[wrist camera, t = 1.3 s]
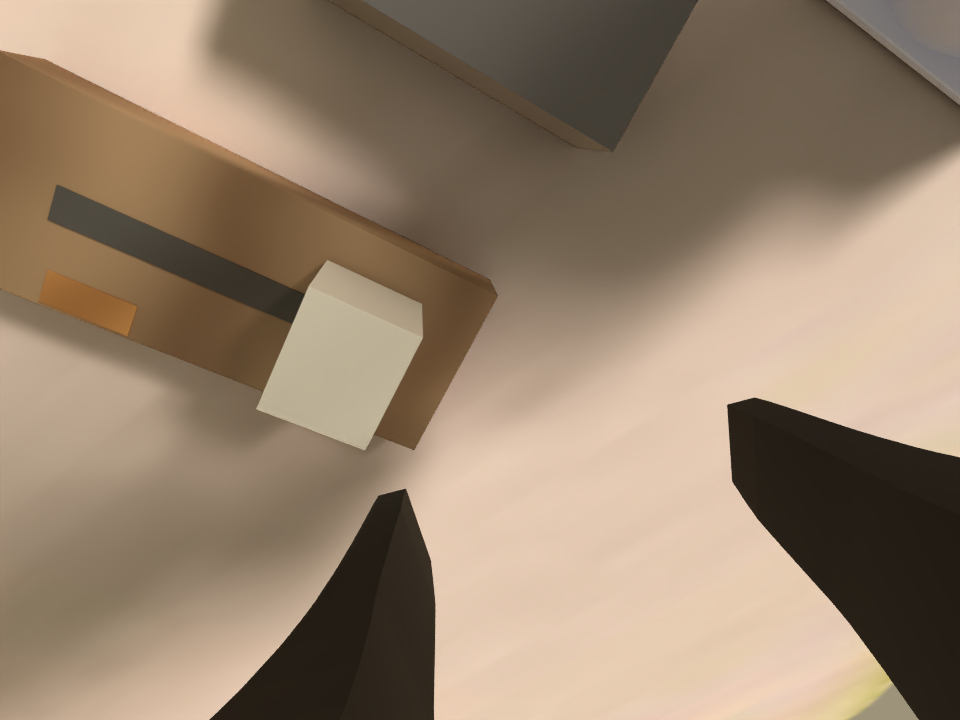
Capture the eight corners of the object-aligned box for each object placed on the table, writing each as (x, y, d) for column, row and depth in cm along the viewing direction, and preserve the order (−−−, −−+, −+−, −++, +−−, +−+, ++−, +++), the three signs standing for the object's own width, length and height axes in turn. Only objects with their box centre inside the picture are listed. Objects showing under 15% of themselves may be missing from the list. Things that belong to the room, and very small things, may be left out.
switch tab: (421, 303, 17) (422, 337, 14) (373, 401, 18) (365, 450, 15) (327, 259, 16) (308, 286, 13) (282, 364, 17) (256, 409, 14)
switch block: (490, 279, 19) (498, 296, 17) (414, 421, 21) (413, 451, 19) (45, 59, 15) (-7, 49, 14) (-3, 253, 17) (-55, 268, 15)
